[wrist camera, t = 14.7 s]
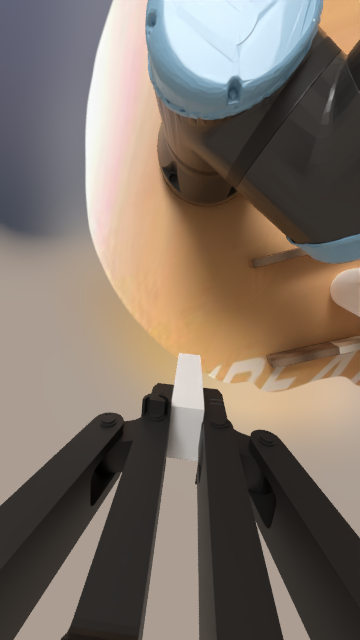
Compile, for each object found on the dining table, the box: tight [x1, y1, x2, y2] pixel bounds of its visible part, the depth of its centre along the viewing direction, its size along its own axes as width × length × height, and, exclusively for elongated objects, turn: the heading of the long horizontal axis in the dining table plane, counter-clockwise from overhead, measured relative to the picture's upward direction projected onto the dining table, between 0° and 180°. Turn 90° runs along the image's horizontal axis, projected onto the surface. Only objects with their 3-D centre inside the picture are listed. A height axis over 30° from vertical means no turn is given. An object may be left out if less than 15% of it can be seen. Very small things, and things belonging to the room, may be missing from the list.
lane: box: [249, 247, 360, 368], centre depth 40 cm, size 28×18×3 cm, turn 104°
